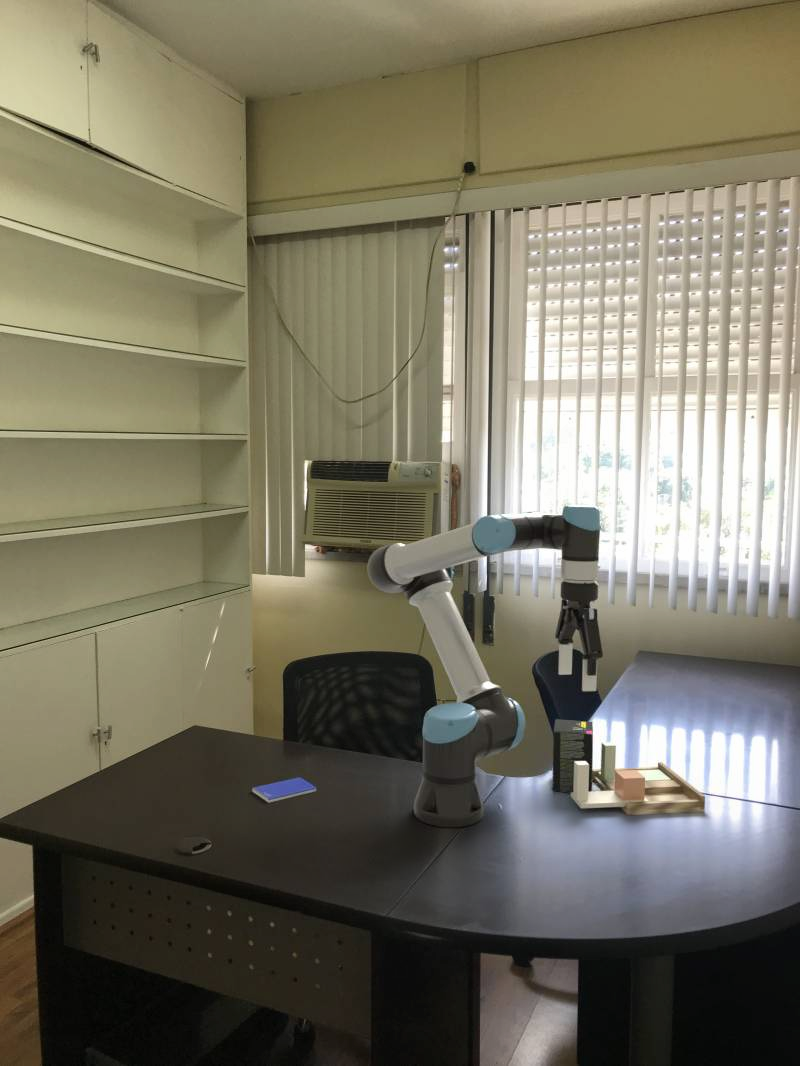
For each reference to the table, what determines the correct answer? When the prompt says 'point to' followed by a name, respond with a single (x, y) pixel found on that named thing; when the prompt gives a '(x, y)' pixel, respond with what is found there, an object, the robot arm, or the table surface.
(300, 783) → the hard drive
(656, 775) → the pale green l-shaped bracket
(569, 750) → the tampon box
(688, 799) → the lane board
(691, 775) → the table surface
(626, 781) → the cube
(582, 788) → the strip cream
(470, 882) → the table surface
